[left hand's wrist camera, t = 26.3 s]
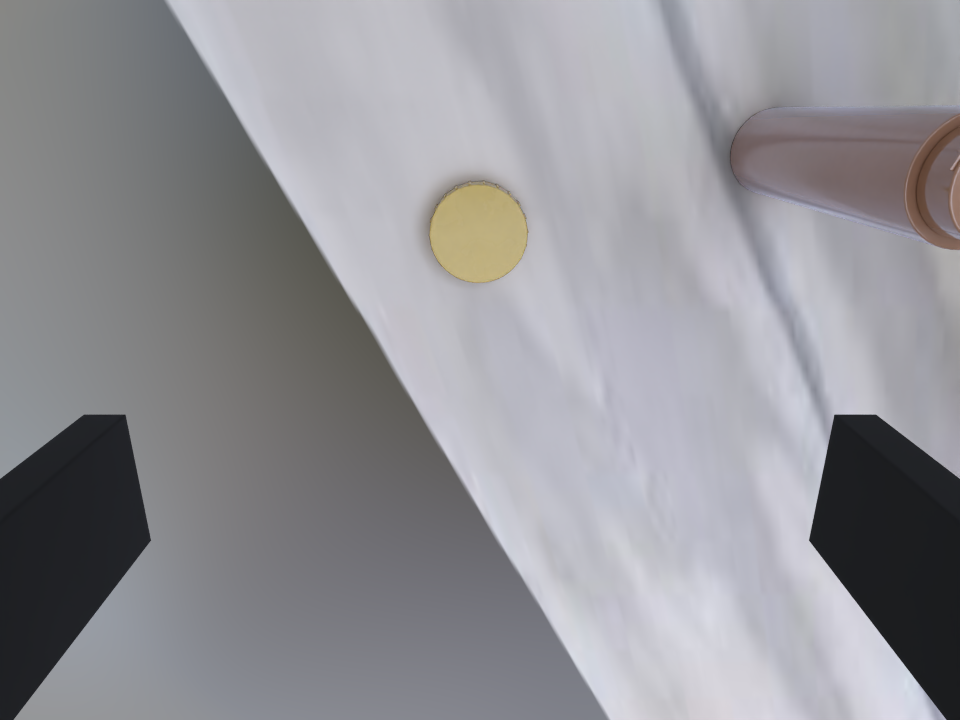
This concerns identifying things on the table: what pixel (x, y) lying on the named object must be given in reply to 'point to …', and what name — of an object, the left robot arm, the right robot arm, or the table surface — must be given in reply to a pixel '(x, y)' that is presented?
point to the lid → (478, 232)
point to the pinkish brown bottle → (860, 165)
